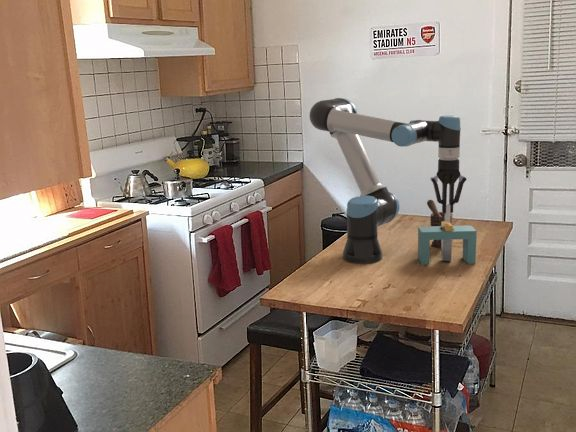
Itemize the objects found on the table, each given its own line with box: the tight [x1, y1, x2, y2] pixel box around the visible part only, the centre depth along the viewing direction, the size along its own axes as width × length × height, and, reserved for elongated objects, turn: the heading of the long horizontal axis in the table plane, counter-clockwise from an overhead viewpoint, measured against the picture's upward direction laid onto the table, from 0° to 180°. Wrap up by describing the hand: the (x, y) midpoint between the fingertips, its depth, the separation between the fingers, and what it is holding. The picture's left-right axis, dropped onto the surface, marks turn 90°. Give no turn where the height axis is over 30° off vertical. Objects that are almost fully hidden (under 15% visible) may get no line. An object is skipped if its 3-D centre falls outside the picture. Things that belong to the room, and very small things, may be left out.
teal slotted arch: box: [417, 225, 478, 266], centre depth 249 cm, size 20×8×12 cm, turn 88°
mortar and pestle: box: [426, 199, 454, 249], centre depth 266 cm, size 12×9×20 cm
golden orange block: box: [440, 221, 454, 262], centre depth 249 cm, size 3×7×14 cm, turn 178°
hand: (447, 221), depth 247 cm, fingers closed
